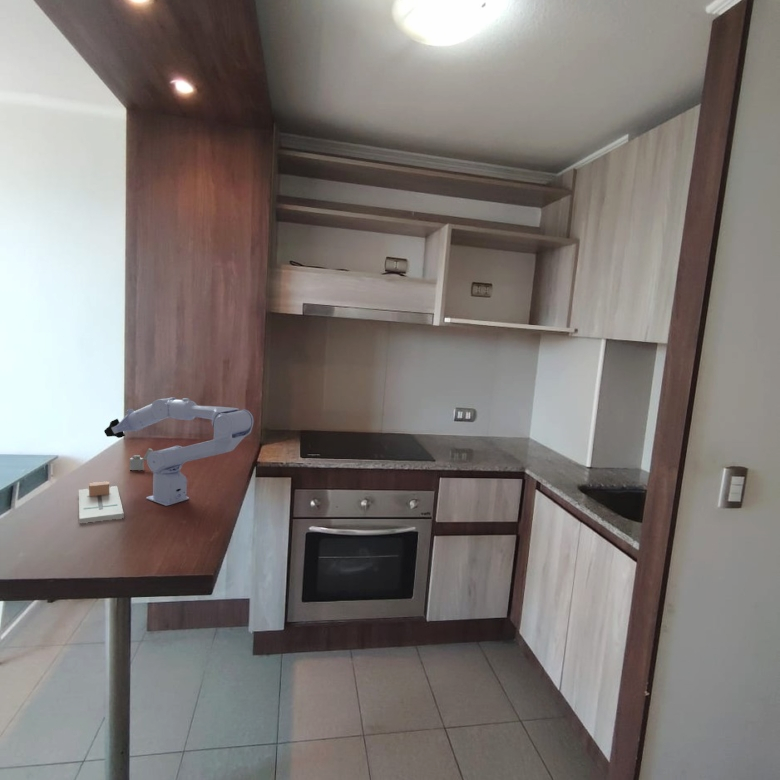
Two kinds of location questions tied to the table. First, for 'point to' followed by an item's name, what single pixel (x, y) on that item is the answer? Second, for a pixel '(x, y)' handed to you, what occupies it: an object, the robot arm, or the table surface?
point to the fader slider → (98, 488)
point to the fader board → (100, 506)
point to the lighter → (139, 461)
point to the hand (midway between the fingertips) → (116, 428)
